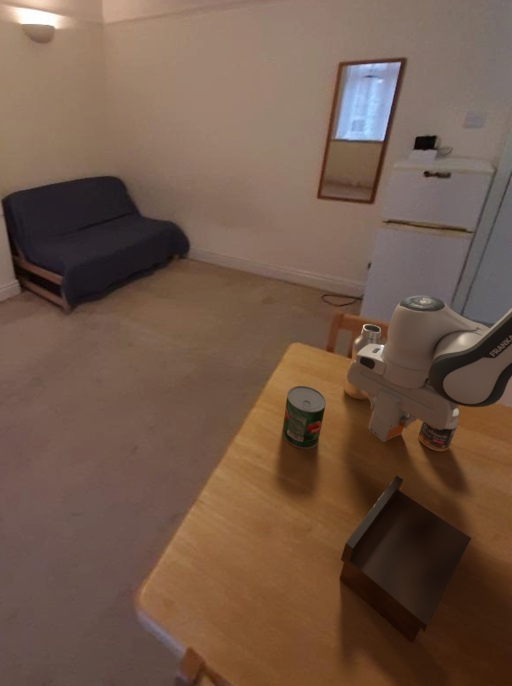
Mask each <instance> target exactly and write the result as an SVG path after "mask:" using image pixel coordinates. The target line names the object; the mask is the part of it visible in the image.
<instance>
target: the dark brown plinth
mask: <svg viewBox="0 0 512 686" xmlns="http://www.w3.org/2000/svg"><path fill="white" fill-rule="evenodd" d="M403 483H404V478H402V477H400V476H399V475H395V476H394V478H393V479H392V481H391V482H390V483H389V484H388V486H387V487H386V488H385V489H384V491H383V492H382V493H381V495H380V496H379V497H378V499H377V500H376V502H374V504H373V506H372V507H371V508H370V509H369V511H368V513H367V514H366V515H365V516H364V517H363V519H362V520H361V522H360V523H359V524H358V525H357V527H355V530H354V531H353V532H352V533H351V535H350V536H349V538H348V539H347V540H346V542H345V544H344V547H343V551H342V554H341V558H340V561H341V562H342V563H343V565H342V567H341V571H340V576H339V580H340V581H342V582H343V583H344V584H345V585H346V586H347V587H348V588H350V589H351V590H352V591H353V592H354V593H355V594H356V595H357V596H359V597H360V598H361V599H362V600H363V601H364V602H366V604H367V605H369V607H371V608H372V609H373V610H374V611H376V613H378V614H379V615H380V616H381V617H382V618H383V619H384V620H385V621H387V622H388V623H389V624H391V626H392V627H393V628H395V629H396V630H397V631H398V632H399V633H400V634H401V635H403V636H404V637H405V638H406V639H407V640H408V641H409V642H410V643H411V644H414V643H415V641H416V639H417V638H418V635H419V634H420V630H422V631H423V632H426V630H427V628H428V626H429V624H430V622H431V620H432V618H433V616H434V614H435V612H436V610H437V608H438V605H440V602H441V600H442V598H443V596H444V594H445V592H446V590H447V588H448V586H449V584H450V582H451V580H452V578H453V576H454V573H455V572H456V570H457V569H458V566H459V564H460V562H461V560H462V558H463V555H464V554H465V552H466V550H467V548H468V547H469V543H470V541H471V540H472V537H471V536H469V535H468V534H466V533H465V532H463V531H462V530H460V529H459V528H457V527H456V526H455V525H452V524H451V523H450V522H448V521H447V520H445V519H443V518H442V517H441V516H439V515H437V514H436V513H434V512H433V511H431V510H429V508H427V507H426V506H424V505H423V504H420V502H418V501H416V500H415V499H413V498H411V497H410V496H408V495H407V494H406V493H404V492H403V491H401V488H402V485H403Z"/></svg>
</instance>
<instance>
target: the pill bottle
mask: <svg viewBox="0 0 512 686" xmlns="http://www.w3.org/2000/svg"><path fill="white" fill-rule="evenodd" d="M459 415H460V410H459V408H457V409H455V410H454V411H453V416H452V419H451V422H450V424H449V425H448V426H447V428H446V429H442V430H439V429H436V428H435V427H433V426H431V425H429V424H427V423H425V422H423V421H422V422H421V425H420V429H419V431H418V440H419V441H420V442H421V443H422V445H424V446H425V447H427V448H428V449H430V450H432V451H436V452H445V451H447V450H448V449H449V448H450V445H451V443H452V440H453V438H454V435H455V433H456V430H457V428H458V425H459V421H458V418H459Z"/></svg>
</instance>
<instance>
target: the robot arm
mask: <svg viewBox="0 0 512 686" xmlns="http://www.w3.org/2000/svg"><path fill="white" fill-rule="evenodd" d="M386 337H387V340H386V343H385V344H384V345H383V344H382V345H378V344H368V345H367V346H365V347H364V348H362V349H361V350H360V351H359V352H358V353H357V355H356V357H355V360H354V361H353V362H352V363H351V362H350V364H349V367H348V369H347V372H346V376H345V378H347V380H348V382H349V383H350V384H352V385H354V386H356V387H358V388H360V389H362V390H364V391H366V392H368V393H369V394H368V397H369V398H368V400H369V402H370V404H371V406H370V410H372V411H373V410H374V407H375V403H376V400H377V396H378V393H379V390H383V391H385V392H387V393H389V394H391V395H393V396H395V397H397V398H399V399H401V400H402V401H401V404H400V408H399V409H400V410H402V411H404V412H406V413H408V416H407V417H406V416H403V418H402V419H401V421H400V424H399V425H401V426H403V427H404V428H405V429H408V428H409V427H410V425H411V423H413V422H416V421H417V420H419V421H422V423H423V422H425V423H427V424H429V425H431V426H433V427H435V428H436V429H439V430H442V429H446V428H447V426H448V425H449V424H450V422H451V419H452V416H453V411H454V410H455V409H458V408H459V406H462V407H467V408H484V407H488V406H492V405H494V404H496V403H497V402H498V401H499V400H500V399H501V398H502V397H503V395H504V393H505V391H506V388H507V386H508V383H509V381H510V380H511V378H512V307H510V309H509V310H508V311H507V312H506V313H505V314H504V315H503V316H502V317H501V318H500V319H499V320H498V321H496V322H495V324H493V325H492V326H491V327H489V326H488V325H486V324H484V323H481V322H478V321H475V320H474V321H473V320H471V319H469V318H466V317H464V316H463V315H460V314H459V313H457V312H455V310H453V309H452V308H451V307H450V306H448V304H447V303H446V302H445V301H444V300H441V299H440V298H437V297H435V296H430V295H414V296H408V297H406V298H404V299H402V300H401V301H400V302H399V303H398V304H397V305H396V307H395V308H394V311H393V313H392V315H391V319H390V320H389V325H388V328H387V332H386ZM404 428H403V429H404Z"/></svg>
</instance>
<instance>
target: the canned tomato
mask: <svg viewBox="0 0 512 686" xmlns="http://www.w3.org/2000/svg"><path fill="white" fill-rule="evenodd" d="M326 405H327V400H326V398H325V396H324V395H323V394H322V393H321V392H320V391H319V390H317V389H315V388H313V387H311V386H306V385H296V386H293V387H291V388H290V389H289V390H288V391H287V393H286V402H285V410H284V417H283V423H282V429H281V432H282V433H281V434H282V436H283V438H284V440H285V441H286V442H287V443H288V444H290V445H291V446H293V447H295V448H298V449H302V450H303V449H304V450H306V449H308V450H309V449H312V448H314V447H316V446H317V445H318V443H319V440H320V434H321V429H322V425H323V420H324V414H325V410H326Z"/></svg>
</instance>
